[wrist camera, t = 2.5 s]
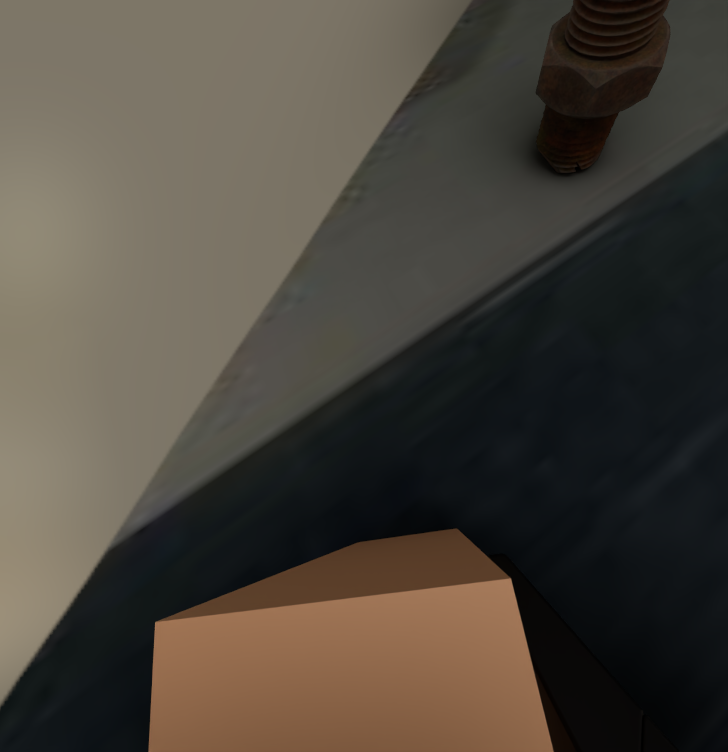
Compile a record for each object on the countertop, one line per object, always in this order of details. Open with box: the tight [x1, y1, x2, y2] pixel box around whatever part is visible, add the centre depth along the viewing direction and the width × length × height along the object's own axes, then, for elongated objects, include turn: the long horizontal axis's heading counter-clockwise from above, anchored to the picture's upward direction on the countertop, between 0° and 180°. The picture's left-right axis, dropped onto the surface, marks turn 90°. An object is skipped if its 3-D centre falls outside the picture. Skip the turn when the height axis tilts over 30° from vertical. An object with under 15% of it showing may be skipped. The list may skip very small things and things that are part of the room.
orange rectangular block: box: [149, 528, 554, 752], centre depth 9 cm, size 4×4×12 cm
